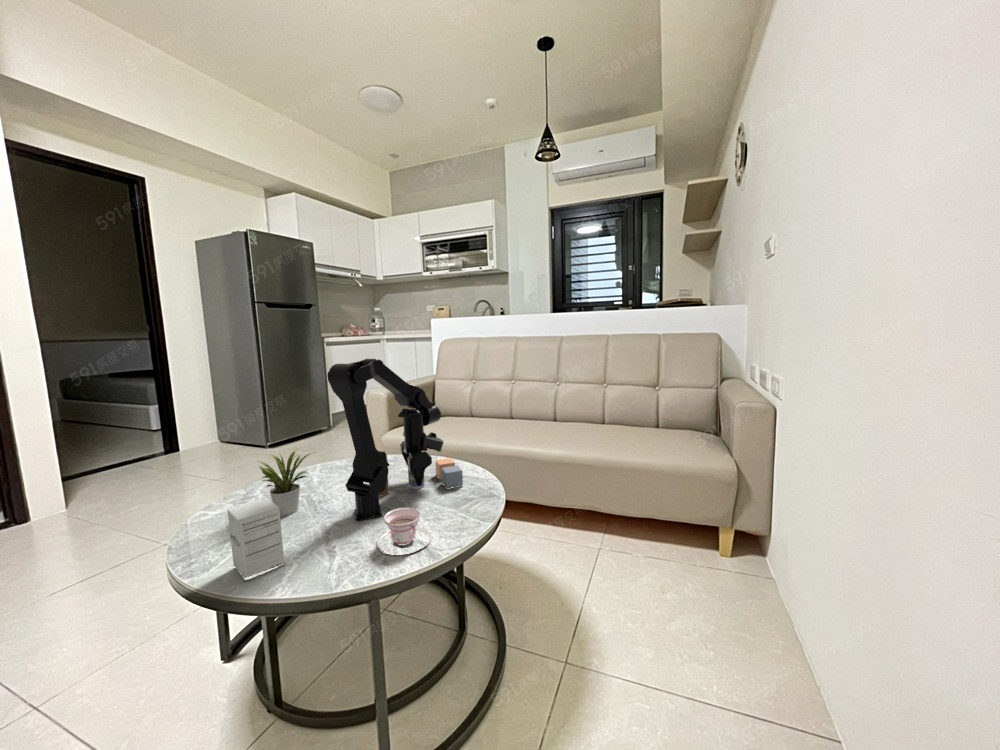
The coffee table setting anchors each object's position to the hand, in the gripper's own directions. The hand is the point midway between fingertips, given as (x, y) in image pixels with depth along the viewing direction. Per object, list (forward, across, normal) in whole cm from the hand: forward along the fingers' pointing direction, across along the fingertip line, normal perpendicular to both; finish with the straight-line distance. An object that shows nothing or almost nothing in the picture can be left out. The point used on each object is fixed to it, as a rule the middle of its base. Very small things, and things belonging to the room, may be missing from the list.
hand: (416, 480), depth 119 cm
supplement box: (+2, -28, +37) cm, 46 cm away
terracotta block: (+2, +4, -10) cm, 11 cm away
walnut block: (+2, 0, +11) cm, 11 cm away
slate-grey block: (+2, -4, -10) cm, 11 cm away
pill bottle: (+2, 0, 0) cm, 2 cm away
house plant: (+2, -1, +34) cm, 34 cm away
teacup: (+2, -31, +8) cm, 32 cm away
